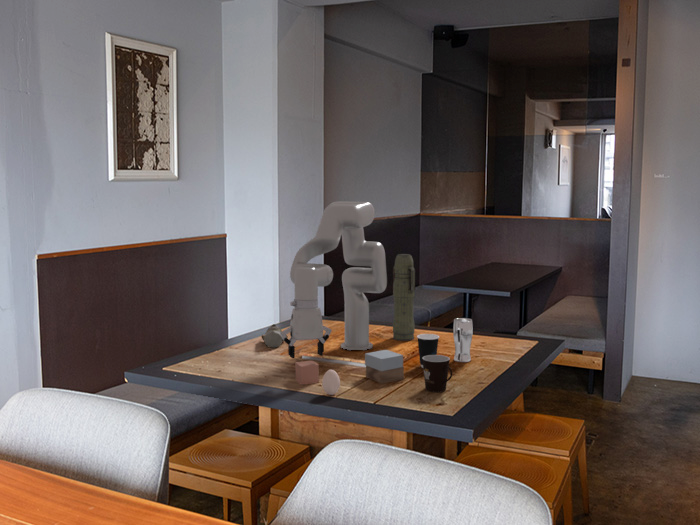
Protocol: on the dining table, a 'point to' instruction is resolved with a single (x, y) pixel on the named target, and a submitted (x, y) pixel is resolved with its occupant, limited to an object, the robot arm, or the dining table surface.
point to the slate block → (383, 360)
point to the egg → (331, 382)
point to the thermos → (403, 297)
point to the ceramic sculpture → (273, 337)
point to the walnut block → (385, 374)
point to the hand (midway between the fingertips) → (306, 356)
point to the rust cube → (307, 372)
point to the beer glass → (462, 339)
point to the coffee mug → (436, 372)
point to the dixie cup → (427, 345)
